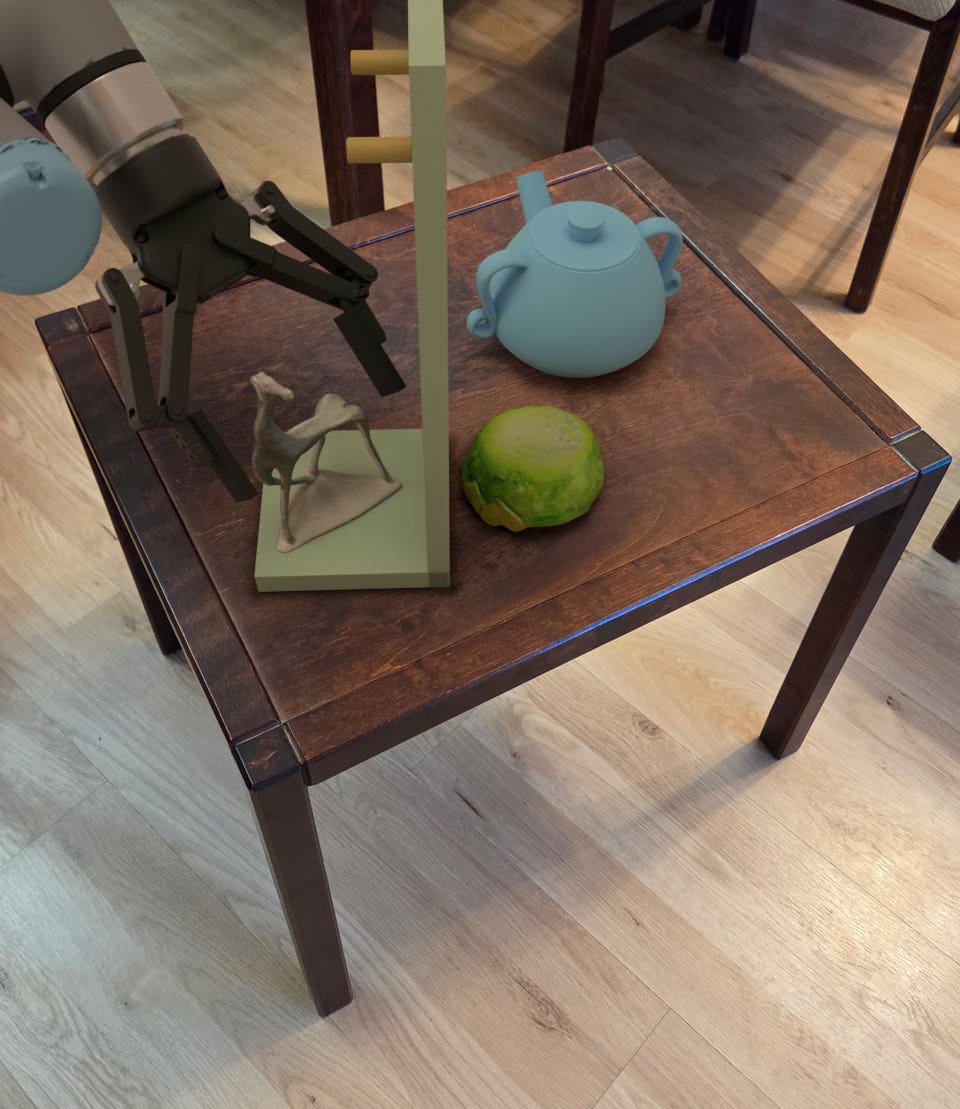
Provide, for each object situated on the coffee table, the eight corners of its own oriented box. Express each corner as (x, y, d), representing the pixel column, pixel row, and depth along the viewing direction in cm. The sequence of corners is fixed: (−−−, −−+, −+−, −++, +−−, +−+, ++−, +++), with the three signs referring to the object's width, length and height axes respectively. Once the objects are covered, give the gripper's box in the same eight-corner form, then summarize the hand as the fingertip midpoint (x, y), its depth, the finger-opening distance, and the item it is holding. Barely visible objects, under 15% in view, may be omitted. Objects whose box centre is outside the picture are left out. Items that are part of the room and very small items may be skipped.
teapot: (497, 420, 87) (503, 301, 77) (424, 270, 98) (420, 149, 88) (710, 367, 92) (743, 247, 81) (617, 229, 103) (635, 109, 92)
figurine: (368, 440, 83) (353, 290, 71) (410, 494, 80) (401, 347, 68) (241, 497, 80) (203, 350, 67) (280, 556, 76) (246, 413, 64)
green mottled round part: (563, 559, 79) (569, 517, 75) (438, 503, 82) (438, 460, 78) (625, 459, 85) (634, 417, 81) (507, 410, 88) (510, 367, 84)
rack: (258, 592, 77) (115, 67, 45) (271, 448, 85) (159, -84, 53) (449, 587, 78) (445, 65, 45) (444, 444, 86) (438, -84, 53)
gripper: (269, 104, 75) (423, 361, 82) (-46, 266, 64) (162, 549, 71) (311, 60, 69) (475, 342, 75) (-30, 232, 58) (196, 546, 64)
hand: (324, 443), depth 73 cm, fingers open, 13 cm apart
